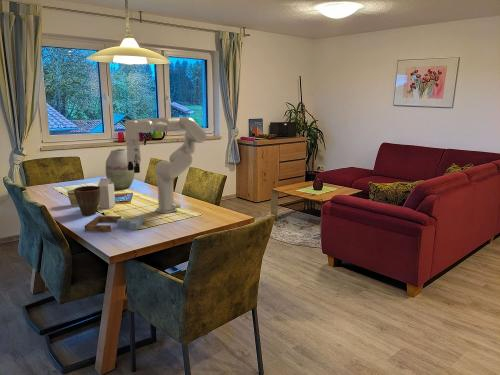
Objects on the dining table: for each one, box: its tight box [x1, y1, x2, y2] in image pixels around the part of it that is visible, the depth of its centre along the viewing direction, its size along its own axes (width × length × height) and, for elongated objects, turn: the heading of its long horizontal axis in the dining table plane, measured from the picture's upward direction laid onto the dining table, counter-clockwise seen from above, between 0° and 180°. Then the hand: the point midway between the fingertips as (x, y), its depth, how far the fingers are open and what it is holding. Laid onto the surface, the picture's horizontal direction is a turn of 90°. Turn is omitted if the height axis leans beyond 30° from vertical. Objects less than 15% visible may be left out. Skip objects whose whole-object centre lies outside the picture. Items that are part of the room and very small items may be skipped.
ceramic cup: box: [66, 189, 79, 208], centre depth 259 cm, size 13×10×10 cm
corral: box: [83, 215, 122, 233], centre depth 219 cm, size 14×18×3 cm
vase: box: [105, 148, 135, 191], centre depth 306 cm, size 21×21×30 cm
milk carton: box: [97, 177, 116, 209], centre depth 254 cm, size 7×7×19 cm
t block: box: [116, 216, 144, 231], centre depth 218 cm, size 12×12×4 cm
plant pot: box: [73, 185, 100, 217], centre depth 239 cm, size 15×15×16 cm
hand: (133, 171), depth 229 cm, fingers open, 9 cm apart
